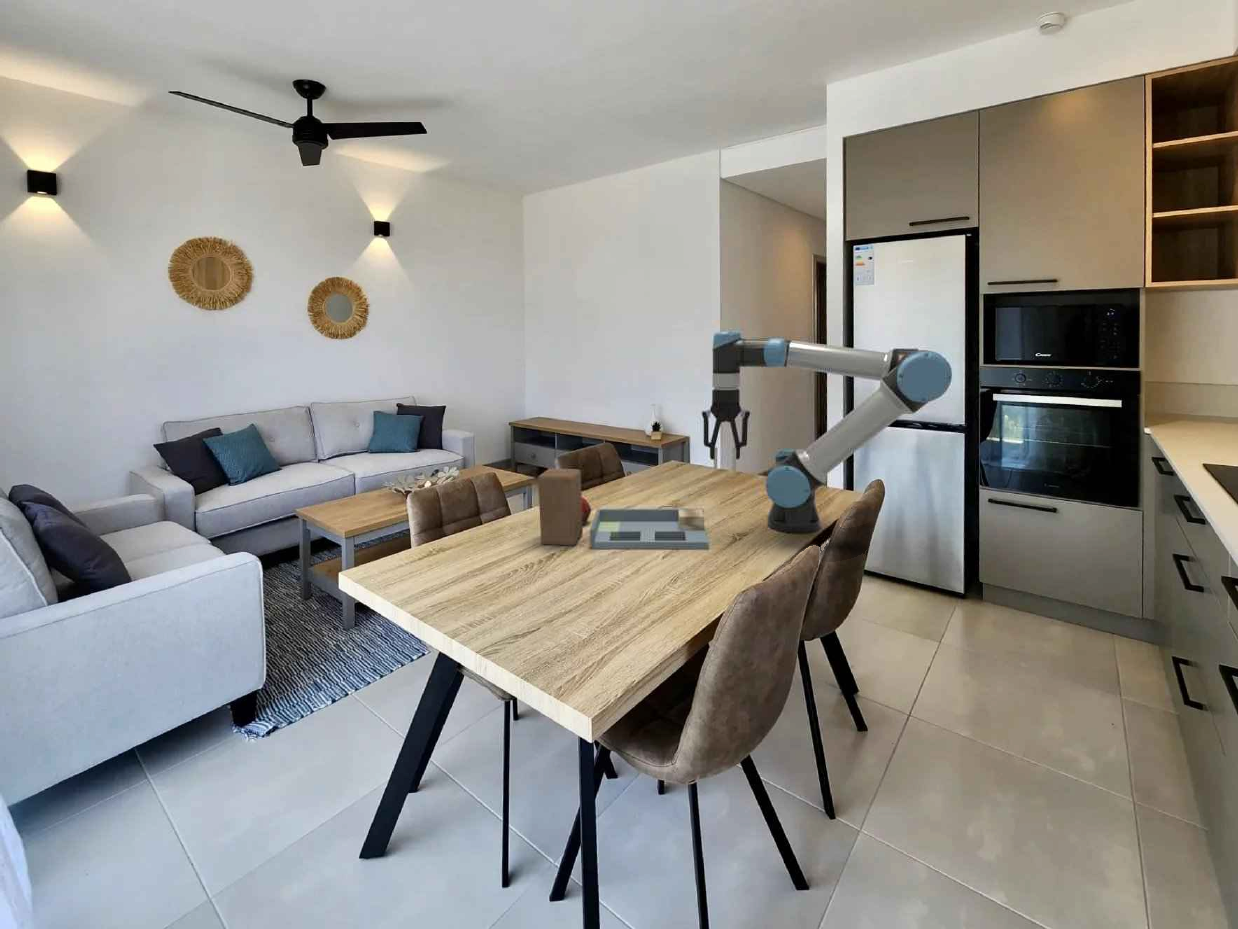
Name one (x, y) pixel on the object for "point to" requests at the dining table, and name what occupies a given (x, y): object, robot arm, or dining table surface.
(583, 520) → the fruit
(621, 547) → the board
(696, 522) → the beech block
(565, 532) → the wooden block
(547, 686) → the dining table surface
